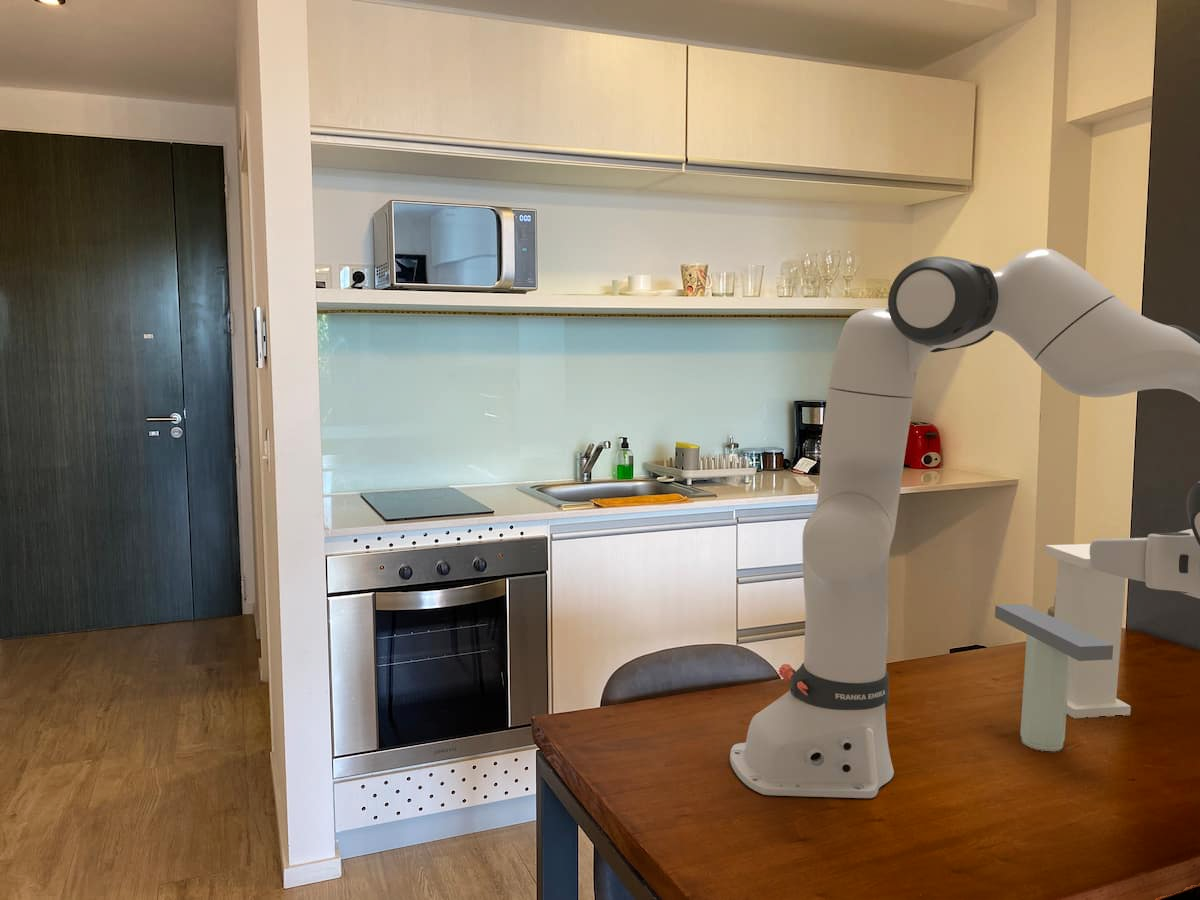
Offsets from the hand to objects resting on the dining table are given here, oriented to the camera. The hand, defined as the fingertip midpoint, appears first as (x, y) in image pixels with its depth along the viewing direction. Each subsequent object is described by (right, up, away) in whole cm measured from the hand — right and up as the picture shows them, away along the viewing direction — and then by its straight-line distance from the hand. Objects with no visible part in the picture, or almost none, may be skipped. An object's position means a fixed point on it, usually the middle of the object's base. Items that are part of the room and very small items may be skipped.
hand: (1124, 551), depth 121 cm
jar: (-3, -30, +16) cm, 34 cm away
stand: (+10, -29, +31) cm, 43 cm away
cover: (-3, -14, +14) cm, 20 cm away
